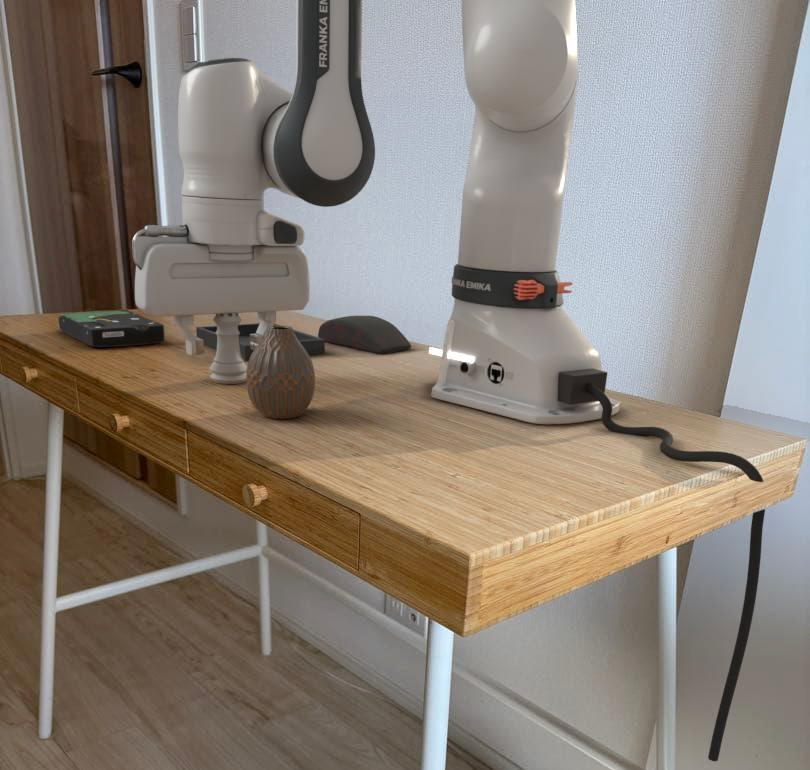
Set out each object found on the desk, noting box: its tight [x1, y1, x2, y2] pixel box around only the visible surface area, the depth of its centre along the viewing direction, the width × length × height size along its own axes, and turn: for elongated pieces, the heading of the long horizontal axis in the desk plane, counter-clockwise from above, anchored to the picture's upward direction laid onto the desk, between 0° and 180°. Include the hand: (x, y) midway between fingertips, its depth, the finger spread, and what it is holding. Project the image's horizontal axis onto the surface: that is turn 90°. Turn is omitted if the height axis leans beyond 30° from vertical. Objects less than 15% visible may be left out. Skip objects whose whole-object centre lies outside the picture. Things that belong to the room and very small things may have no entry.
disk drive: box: [57, 309, 166, 348], centre depth 118 cm, size 10×3×15 cm
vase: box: [245, 325, 316, 420], centre depth 84 cm, size 7×7×9 cm
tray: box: [195, 322, 326, 362], centre depth 117 cm, size 15×12×2 cm
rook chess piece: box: [209, 313, 248, 385], centre depth 97 cm, size 4×4×8 cm
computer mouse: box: [317, 315, 412, 355], centre depth 123 cm, size 8×14×4 cm, turn 49°
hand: (227, 352), depth 97 cm, fingers open, 7 cm apart
